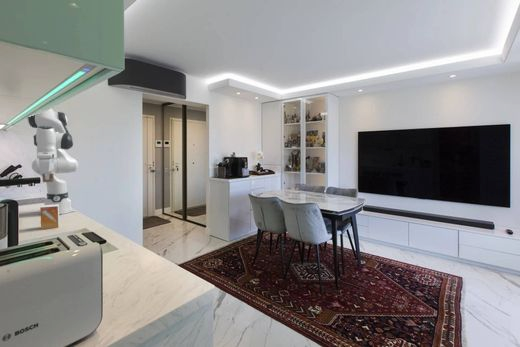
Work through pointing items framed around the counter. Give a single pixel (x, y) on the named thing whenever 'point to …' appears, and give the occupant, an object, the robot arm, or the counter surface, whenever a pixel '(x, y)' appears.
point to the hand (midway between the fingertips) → (48, 178)
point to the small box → (49, 216)
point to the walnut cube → (48, 179)
